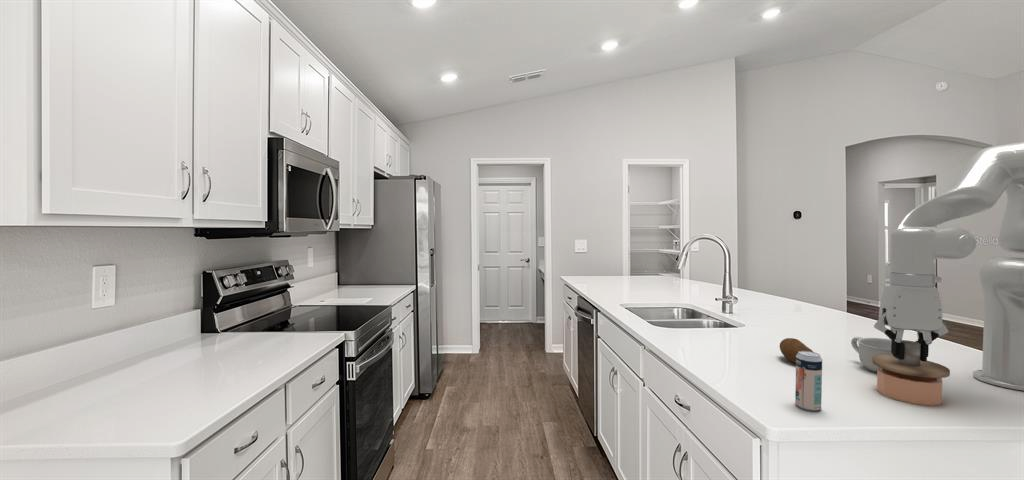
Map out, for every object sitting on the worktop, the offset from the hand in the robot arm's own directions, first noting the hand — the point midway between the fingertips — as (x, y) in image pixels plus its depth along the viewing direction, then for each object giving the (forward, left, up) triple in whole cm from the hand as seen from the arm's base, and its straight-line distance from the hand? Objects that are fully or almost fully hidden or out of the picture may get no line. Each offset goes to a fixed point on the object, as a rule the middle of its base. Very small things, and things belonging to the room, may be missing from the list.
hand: (909, 358), depth 96 cm
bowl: (0, 0, -9) cm, 9 cm away
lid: (0, 0, -2) cm, 2 cm away
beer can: (+25, +14, -9) cm, 30 cm away
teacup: (-3, -19, -9) cm, 21 cm away
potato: (+17, -19, -9) cm, 27 cm away
